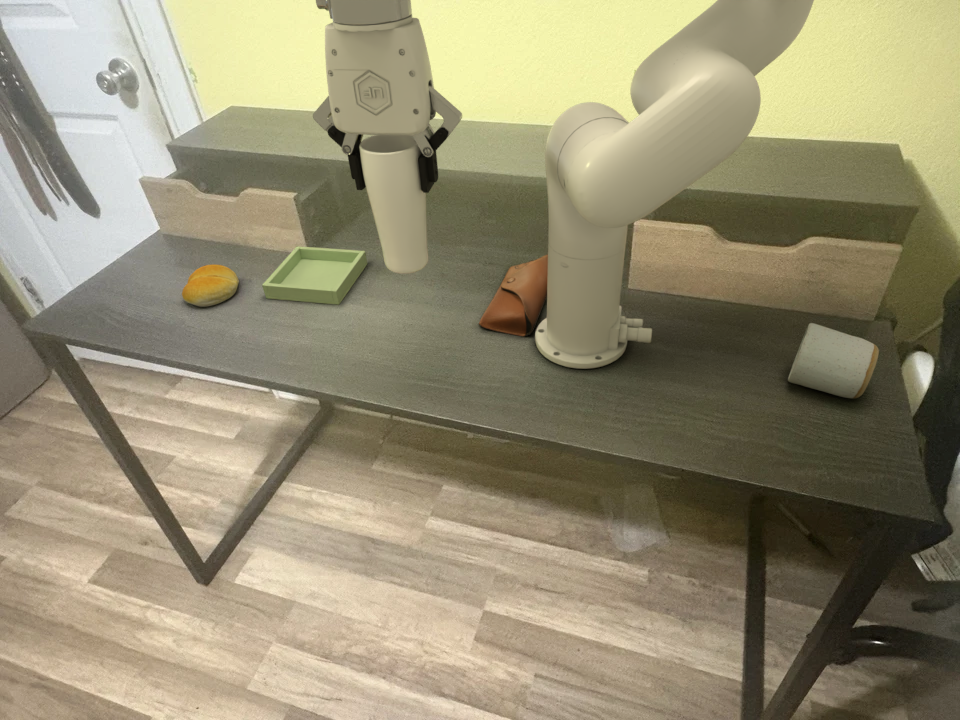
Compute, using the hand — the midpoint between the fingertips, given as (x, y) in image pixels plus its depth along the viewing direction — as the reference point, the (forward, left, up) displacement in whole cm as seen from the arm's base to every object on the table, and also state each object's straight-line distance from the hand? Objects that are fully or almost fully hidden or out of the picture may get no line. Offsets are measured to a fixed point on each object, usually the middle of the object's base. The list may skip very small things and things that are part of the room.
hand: (396, 185), depth 70 cm
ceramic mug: (-51, -5, -26) cm, 58 cm away
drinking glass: (0, 0, -10) cm, 10 cm away
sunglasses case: (-11, -17, -26) cm, 32 cm away
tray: (+23, -18, -25) cm, 39 cm away
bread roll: (+39, -12, -26) cm, 48 cm away
